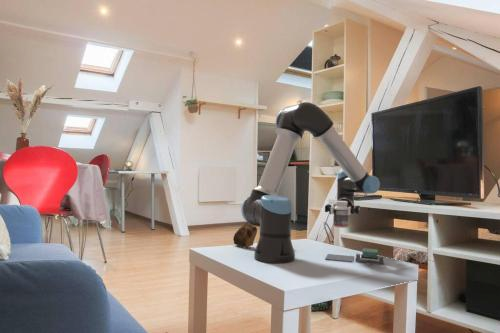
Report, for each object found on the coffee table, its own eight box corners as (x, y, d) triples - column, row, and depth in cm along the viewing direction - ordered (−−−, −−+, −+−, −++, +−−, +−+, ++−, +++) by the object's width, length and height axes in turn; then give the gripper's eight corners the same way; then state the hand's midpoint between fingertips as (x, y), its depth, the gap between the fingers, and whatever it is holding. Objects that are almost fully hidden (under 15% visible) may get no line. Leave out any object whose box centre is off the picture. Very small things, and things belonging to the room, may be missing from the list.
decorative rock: (258, 248, 161) (258, 223, 161) (246, 249, 157) (247, 223, 157) (241, 244, 170) (242, 220, 171) (230, 245, 167) (231, 220, 167)
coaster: (325, 259, 142) (325, 258, 142) (327, 254, 151) (327, 253, 151) (352, 262, 139) (352, 261, 139) (353, 257, 148) (353, 256, 148)
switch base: (355, 262, 139) (355, 255, 139) (355, 259, 143) (355, 253, 143) (383, 264, 136) (384, 257, 136) (383, 262, 140) (383, 255, 140)
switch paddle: (361, 258, 141) (360, 251, 131) (361, 254, 142) (361, 247, 131) (378, 259, 139) (379, 253, 129) (378, 256, 140) (379, 248, 130)
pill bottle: (334, 225, 149) (335, 200, 149) (349, 226, 147) (349, 201, 147) (332, 227, 144) (332, 201, 144) (347, 228, 142) (347, 201, 142)
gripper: (366, 216, 160) (366, 222, 138) (322, 214, 165) (315, 219, 143) (366, 199, 160) (366, 202, 138) (322, 197, 166) (315, 200, 144)
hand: (340, 211), depth 141 cm, fingers closed on pill bottle, 6 cm apart
